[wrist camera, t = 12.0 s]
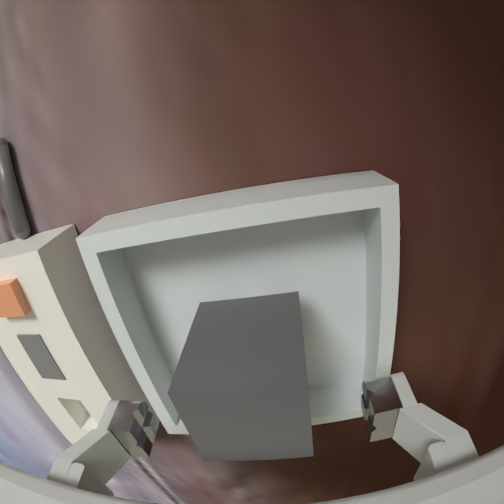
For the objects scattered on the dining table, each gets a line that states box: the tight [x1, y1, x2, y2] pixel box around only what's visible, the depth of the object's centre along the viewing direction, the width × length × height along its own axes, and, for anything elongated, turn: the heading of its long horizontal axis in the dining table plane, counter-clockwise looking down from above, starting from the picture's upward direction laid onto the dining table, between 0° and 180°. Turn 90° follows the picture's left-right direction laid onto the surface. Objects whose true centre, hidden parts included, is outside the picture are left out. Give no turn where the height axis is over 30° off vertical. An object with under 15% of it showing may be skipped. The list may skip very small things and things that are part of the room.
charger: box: [168, 291, 314, 461], centre depth 13 cm, size 4×4×7 cm
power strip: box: [0, 138, 160, 454], centre depth 15 cm, size 21×7×4 cm, turn 10°
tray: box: [75, 170, 400, 434], centre depth 16 cm, size 13×13×3 cm
